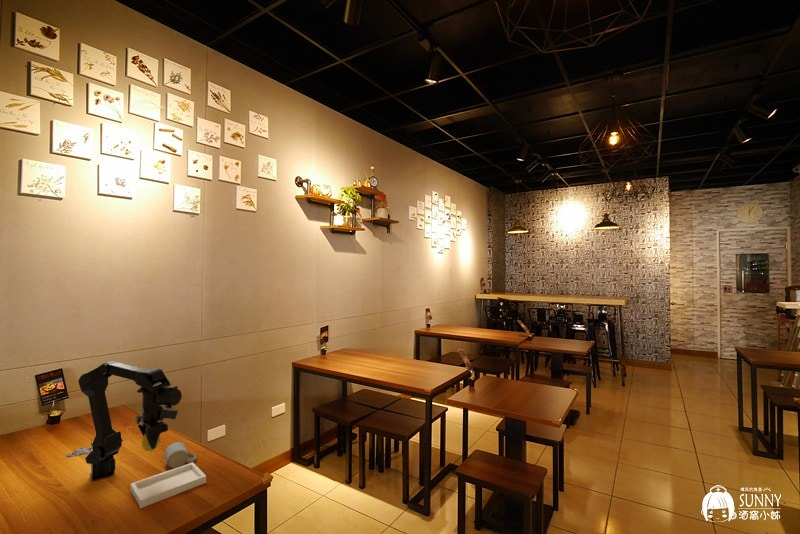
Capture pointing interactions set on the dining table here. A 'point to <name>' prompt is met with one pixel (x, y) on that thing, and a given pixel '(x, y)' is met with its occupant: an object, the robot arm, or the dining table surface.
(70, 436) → the dining table surface
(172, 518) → the dining table surface
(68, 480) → the dining table surface
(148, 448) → the lemon
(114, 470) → the robot arm
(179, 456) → the ceramic mug
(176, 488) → the tray
